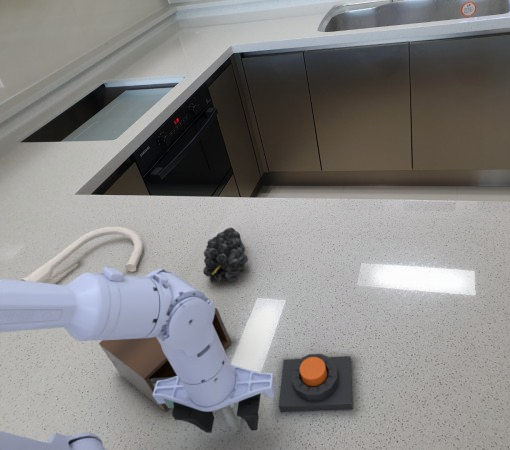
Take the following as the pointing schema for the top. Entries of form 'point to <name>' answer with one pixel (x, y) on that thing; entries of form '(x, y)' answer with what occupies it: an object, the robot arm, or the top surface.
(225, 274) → the fruit
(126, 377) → the cabinet
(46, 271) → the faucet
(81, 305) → the robot arm
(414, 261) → the top surface
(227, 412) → the glass door
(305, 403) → the switch block
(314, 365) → the light button
